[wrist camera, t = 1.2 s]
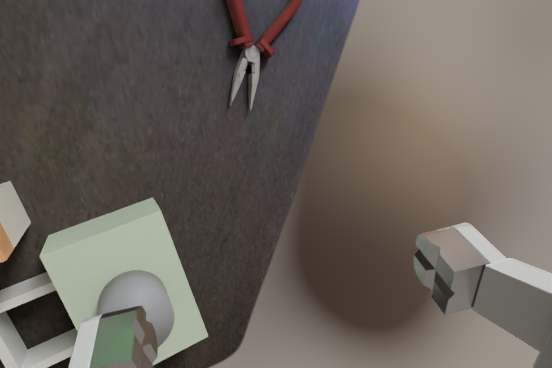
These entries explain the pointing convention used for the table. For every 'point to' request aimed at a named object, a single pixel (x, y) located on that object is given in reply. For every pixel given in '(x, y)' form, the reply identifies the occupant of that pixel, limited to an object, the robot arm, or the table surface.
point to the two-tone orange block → (11, 220)
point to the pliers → (261, 46)
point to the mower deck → (119, 254)
